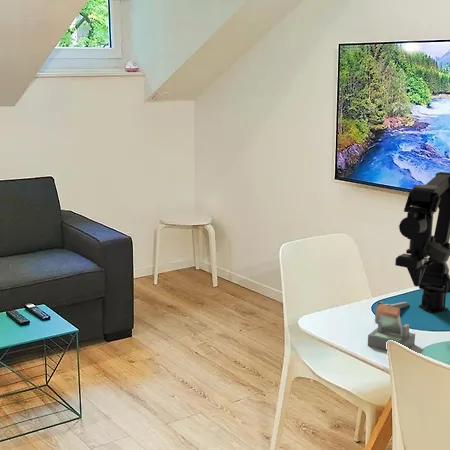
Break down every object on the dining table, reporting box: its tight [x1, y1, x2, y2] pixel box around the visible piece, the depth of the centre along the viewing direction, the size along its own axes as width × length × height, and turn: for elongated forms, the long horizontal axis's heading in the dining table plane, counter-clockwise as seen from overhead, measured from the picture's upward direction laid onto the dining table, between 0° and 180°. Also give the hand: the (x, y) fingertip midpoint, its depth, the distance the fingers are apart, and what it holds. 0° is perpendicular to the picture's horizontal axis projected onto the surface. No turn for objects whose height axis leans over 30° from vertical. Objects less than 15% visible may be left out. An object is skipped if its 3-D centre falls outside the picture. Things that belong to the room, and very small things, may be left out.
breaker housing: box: [367, 320, 416, 351], centre depth 192 cm, size 8×10×6 cm
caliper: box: [374, 301, 410, 324], centre depth 215 cm, size 20×1×6 cm, turn 141°
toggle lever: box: [375, 304, 403, 335], centre depth 190 cm, size 2×6×9 cm
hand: (416, 286), depth 203 cm, fingers closed
